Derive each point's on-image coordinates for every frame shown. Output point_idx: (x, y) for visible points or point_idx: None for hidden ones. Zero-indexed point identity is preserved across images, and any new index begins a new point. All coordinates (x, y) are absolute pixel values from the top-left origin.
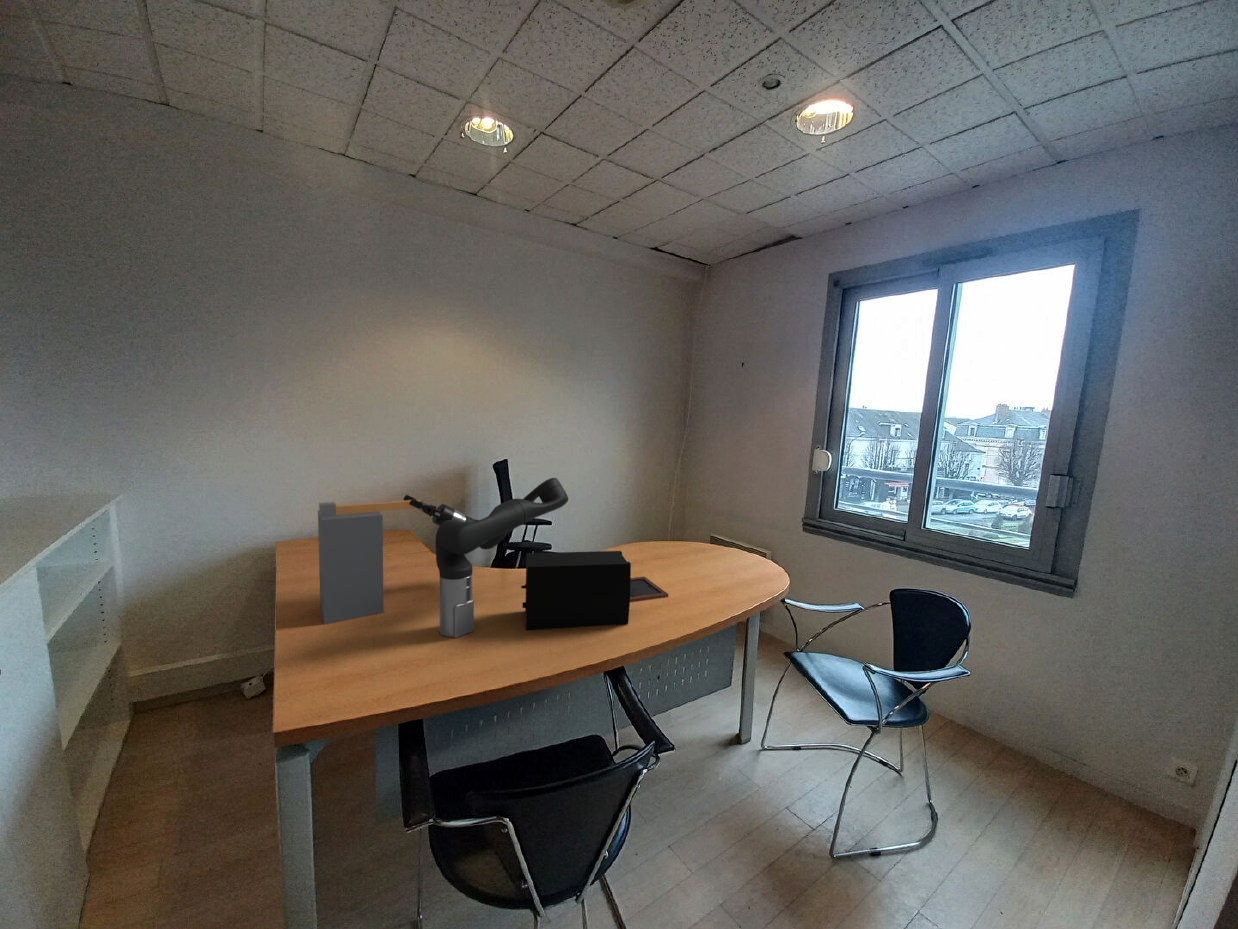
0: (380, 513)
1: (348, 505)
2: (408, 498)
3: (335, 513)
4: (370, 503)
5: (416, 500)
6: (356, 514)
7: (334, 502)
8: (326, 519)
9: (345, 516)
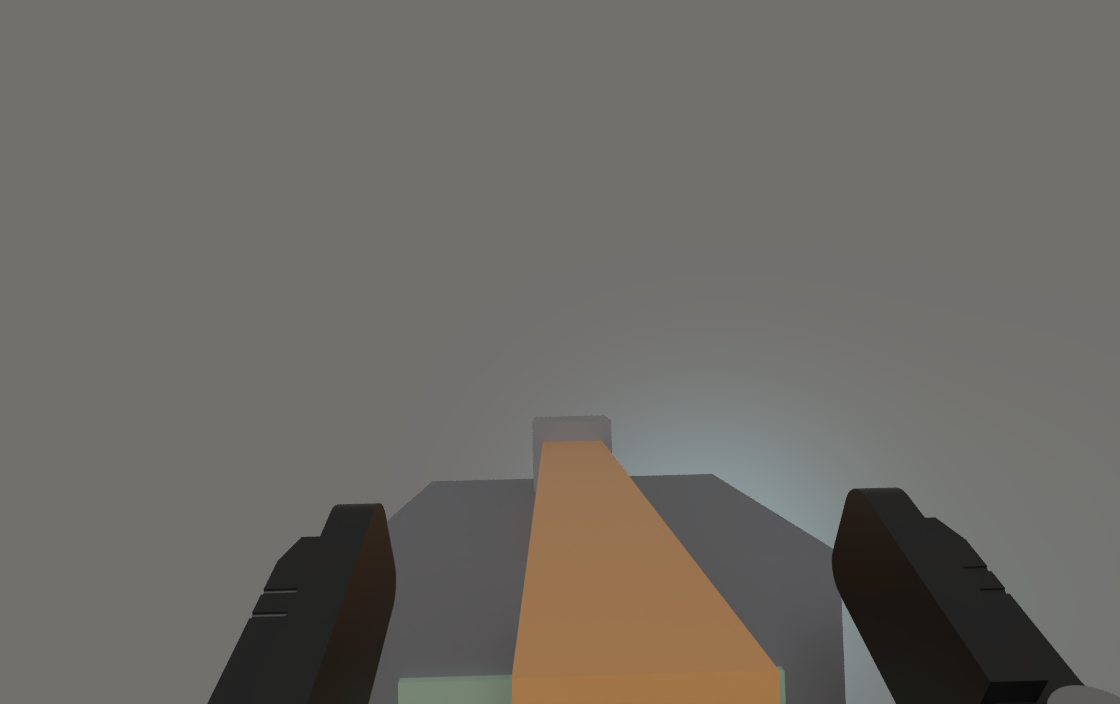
0: (422, 562)
1: (562, 449)
2: (878, 573)
3: (534, 480)
4: (589, 470)
5: (314, 559)
6: (492, 516)
7: (590, 420)
8: (437, 484)
9: (461, 501)
